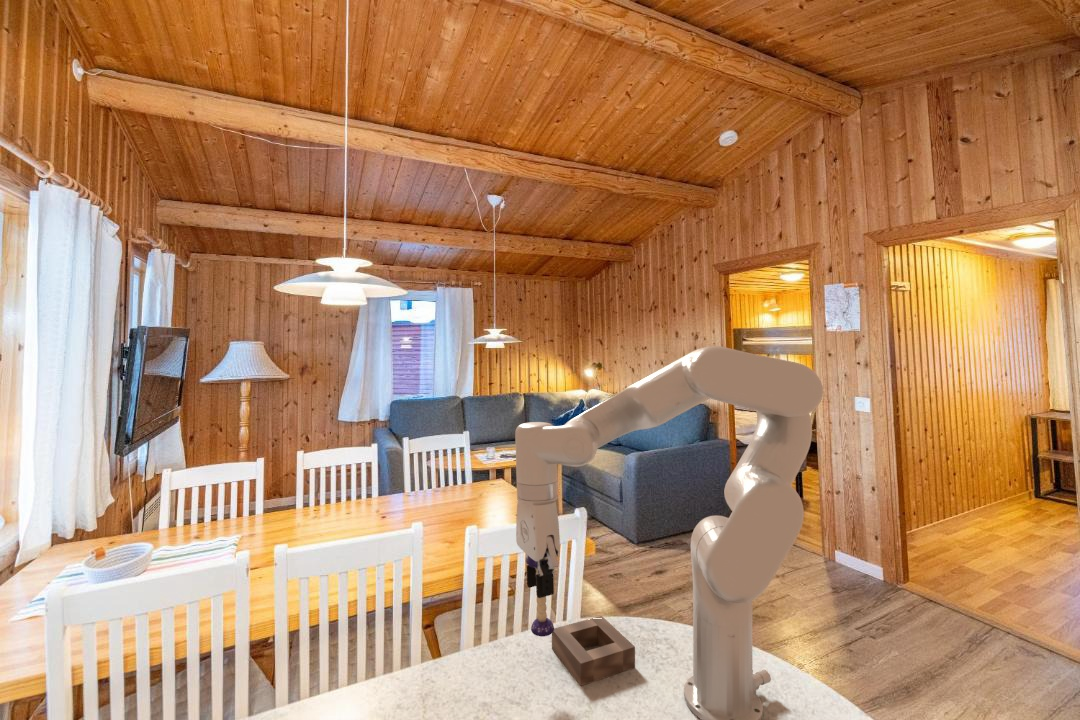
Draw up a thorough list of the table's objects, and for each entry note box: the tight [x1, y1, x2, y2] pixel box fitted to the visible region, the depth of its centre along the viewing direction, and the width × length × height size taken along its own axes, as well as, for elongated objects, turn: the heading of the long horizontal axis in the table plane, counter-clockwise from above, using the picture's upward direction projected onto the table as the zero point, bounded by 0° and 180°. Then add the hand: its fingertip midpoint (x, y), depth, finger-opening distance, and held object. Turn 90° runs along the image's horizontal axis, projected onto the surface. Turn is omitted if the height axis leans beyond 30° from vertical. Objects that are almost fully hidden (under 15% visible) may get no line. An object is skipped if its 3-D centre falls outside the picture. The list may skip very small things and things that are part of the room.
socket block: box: [551, 615, 636, 686], centre depth 92 cm, size 12×12×4 cm
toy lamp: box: [526, 553, 555, 637], centre depth 85 cm, size 5×5×17 cm
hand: (540, 589), depth 85 cm, fingers closed on toy lamp, 3 cm apart
